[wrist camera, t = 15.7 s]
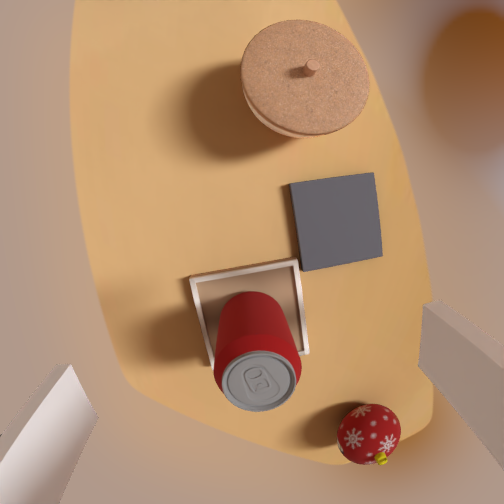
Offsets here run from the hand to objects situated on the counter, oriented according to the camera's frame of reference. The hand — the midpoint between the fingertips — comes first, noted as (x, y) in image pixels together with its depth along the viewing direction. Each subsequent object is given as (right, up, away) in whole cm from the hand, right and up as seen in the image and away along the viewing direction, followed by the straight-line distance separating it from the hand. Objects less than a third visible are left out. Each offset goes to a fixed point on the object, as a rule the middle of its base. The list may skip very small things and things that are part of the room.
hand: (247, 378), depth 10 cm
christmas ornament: (+15, -19, +28) cm, 37 cm away
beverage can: (0, -3, +23) cm, 23 cm away
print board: (0, -2, +24) cm, 24 cm away
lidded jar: (+4, +20, +19) cm, 28 cm away
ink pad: (+9, +8, +22) cm, 25 cm away
